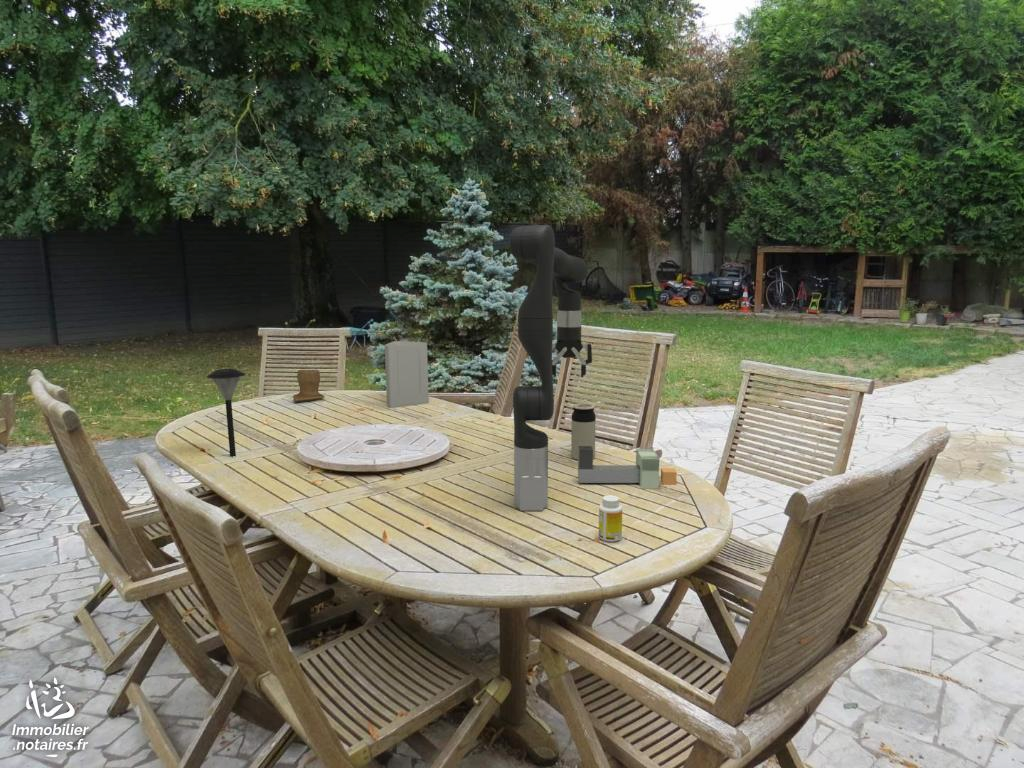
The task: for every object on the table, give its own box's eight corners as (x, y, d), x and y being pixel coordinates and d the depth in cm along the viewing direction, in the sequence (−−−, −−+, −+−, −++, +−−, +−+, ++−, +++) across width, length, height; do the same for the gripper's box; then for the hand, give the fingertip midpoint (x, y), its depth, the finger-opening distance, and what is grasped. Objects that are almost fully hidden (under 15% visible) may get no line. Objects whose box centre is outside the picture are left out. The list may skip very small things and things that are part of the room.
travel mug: (598, 456, 234) (599, 404, 231) (588, 462, 227) (589, 409, 224) (577, 452, 238) (578, 402, 235) (567, 458, 231) (567, 406, 228)
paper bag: (416, 397, 331) (414, 339, 326) (429, 403, 318) (427, 343, 313) (378, 402, 321) (376, 342, 316) (390, 408, 309) (388, 346, 303)
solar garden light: (212, 454, 239) (204, 369, 233) (249, 449, 244) (243, 366, 239) (215, 463, 228) (207, 374, 222) (254, 458, 233) (247, 371, 228)
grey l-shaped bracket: (652, 482, 205) (654, 449, 203) (579, 482, 205) (579, 449, 203) (650, 478, 209) (651, 446, 207) (577, 478, 209) (578, 446, 207)
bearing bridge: (658, 488, 202) (659, 459, 200) (641, 488, 202) (642, 459, 200) (651, 476, 212) (652, 448, 210) (635, 476, 212) (636, 448, 211)
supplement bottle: (626, 537, 167) (627, 497, 165) (612, 544, 163) (613, 503, 161) (607, 531, 171) (608, 492, 169) (593, 538, 167) (594, 498, 165)
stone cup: (318, 396, 336) (316, 365, 333) (327, 400, 326) (325, 369, 323) (287, 400, 327) (285, 369, 324) (295, 404, 317) (293, 372, 315)
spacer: (662, 484, 205) (676, 485, 205) (662, 472, 204) (676, 472, 204) (660, 480, 209) (673, 480, 209) (661, 468, 208) (674, 468, 208)
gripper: (546, 326, 208) (546, 379, 211) (593, 326, 208) (592, 378, 211) (545, 323, 215) (545, 374, 218) (591, 323, 215) (590, 374, 218)
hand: (568, 376), depth 214 cm, fingers open, 8 cm apart
